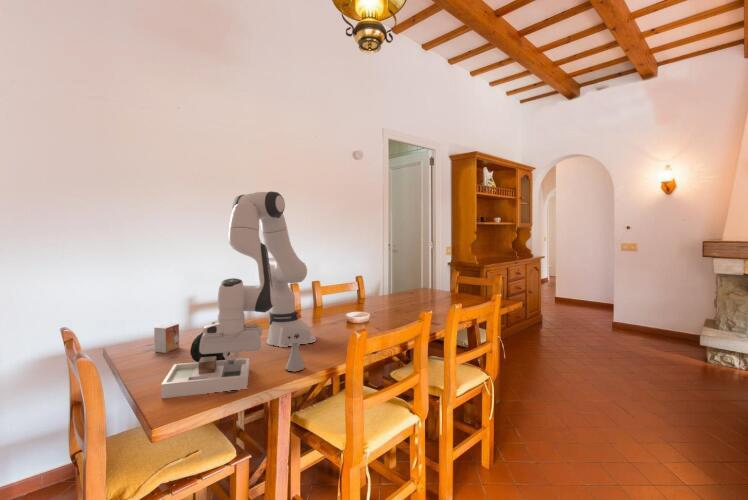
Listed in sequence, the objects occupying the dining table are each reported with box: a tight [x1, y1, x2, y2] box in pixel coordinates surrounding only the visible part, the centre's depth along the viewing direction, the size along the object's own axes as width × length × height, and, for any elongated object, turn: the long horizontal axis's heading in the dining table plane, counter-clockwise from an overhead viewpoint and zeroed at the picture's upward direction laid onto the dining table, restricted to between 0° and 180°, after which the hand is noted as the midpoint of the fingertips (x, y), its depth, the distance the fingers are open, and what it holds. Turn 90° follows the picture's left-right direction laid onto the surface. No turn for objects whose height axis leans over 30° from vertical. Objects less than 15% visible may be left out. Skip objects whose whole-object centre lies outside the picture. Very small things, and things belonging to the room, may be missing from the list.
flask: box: [284, 342, 306, 372], centre depth 136 cm, size 7×7×10 cm
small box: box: [153, 322, 180, 354], centre depth 155 cm, size 8×6×10 cm
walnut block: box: [199, 356, 216, 374], centre depth 126 cm, size 5×5×4 cm
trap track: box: [160, 357, 250, 399], centre depth 123 cm, size 25×17×4 cm
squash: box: [189, 331, 231, 362], centre depth 142 cm, size 14×15×15 cm
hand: (231, 363), depth 128 cm, fingers closed
